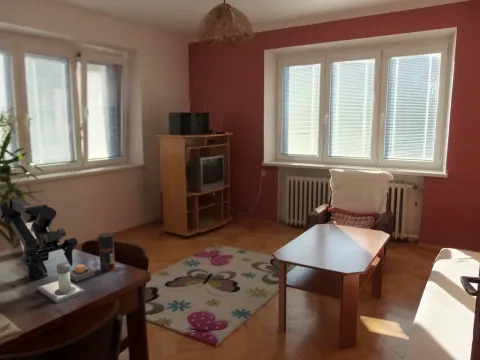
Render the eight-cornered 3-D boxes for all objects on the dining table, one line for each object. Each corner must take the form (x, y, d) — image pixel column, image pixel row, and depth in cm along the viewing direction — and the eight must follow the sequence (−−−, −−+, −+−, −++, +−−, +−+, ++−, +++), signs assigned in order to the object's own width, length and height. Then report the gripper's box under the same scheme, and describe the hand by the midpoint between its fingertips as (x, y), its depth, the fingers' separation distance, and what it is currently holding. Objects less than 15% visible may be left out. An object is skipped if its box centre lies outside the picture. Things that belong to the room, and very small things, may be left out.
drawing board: (38, 289, 141) (37, 286, 140) (64, 280, 148) (64, 277, 148) (57, 303, 130) (56, 299, 130) (84, 293, 138) (84, 289, 138)
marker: (58, 289, 138) (56, 263, 136) (70, 287, 140) (68, 261, 138) (59, 294, 134) (57, 267, 132) (72, 291, 136) (70, 265, 134)
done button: (73, 272, 153) (72, 266, 152) (82, 269, 156) (82, 263, 155) (78, 275, 150) (77, 269, 150) (87, 272, 153) (87, 266, 153)
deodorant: (110, 272, 157) (108, 237, 154) (97, 271, 158) (95, 236, 155) (117, 266, 162) (115, 233, 160) (105, 265, 164) (103, 232, 161)
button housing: (66, 276, 153) (66, 271, 152) (85, 270, 159) (84, 265, 158) (75, 281, 148) (75, 276, 147) (94, 275, 154) (94, 270, 153)
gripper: (22, 228, 131) (38, 266, 126) (74, 217, 145) (90, 251, 140) (15, 244, 137) (30, 281, 132) (65, 232, 151) (81, 265, 146)
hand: (59, 269), depth 138 cm, fingers open, 9 cm apart
